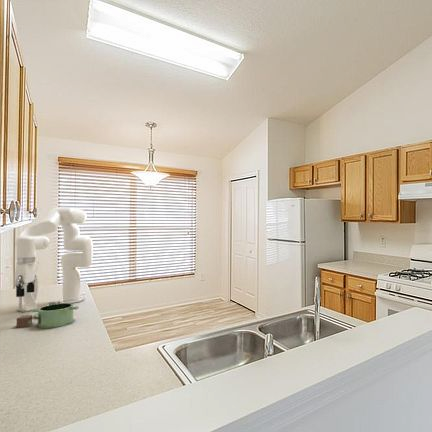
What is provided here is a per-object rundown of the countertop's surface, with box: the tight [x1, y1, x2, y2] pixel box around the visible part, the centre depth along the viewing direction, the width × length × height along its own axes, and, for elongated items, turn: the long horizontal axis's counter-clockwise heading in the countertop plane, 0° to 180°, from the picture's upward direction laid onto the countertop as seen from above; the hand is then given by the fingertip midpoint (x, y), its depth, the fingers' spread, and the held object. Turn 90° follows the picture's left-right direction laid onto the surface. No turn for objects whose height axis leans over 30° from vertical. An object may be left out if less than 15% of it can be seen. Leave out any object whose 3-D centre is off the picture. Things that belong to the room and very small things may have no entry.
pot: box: [32, 302, 80, 329], centre depth 165 cm, size 15×20×8 cm
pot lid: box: [34, 301, 57, 319], centre depth 180 cm, size 16×16×7 cm
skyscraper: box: [17, 261, 40, 313], centre depth 189 cm, size 8×8×28 cm
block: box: [16, 314, 33, 328], centre depth 162 cm, size 5×5×5 cm
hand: (25, 294), depth 162 cm, fingers open, 9 cm apart
